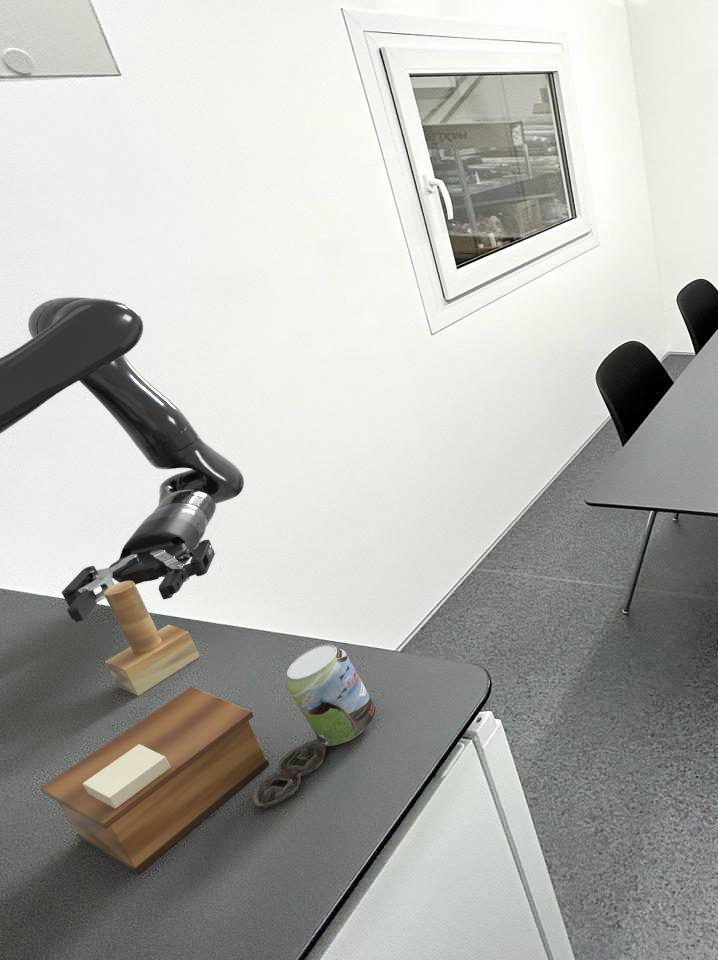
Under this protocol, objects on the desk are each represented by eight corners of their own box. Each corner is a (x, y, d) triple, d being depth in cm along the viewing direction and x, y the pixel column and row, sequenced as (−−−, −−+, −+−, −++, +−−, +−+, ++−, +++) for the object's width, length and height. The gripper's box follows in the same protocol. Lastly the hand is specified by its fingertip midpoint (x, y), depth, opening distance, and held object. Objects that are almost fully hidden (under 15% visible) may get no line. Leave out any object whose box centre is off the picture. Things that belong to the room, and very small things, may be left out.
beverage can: (384, 728, 78) (364, 651, 75) (312, 768, 73) (287, 687, 70) (370, 700, 82) (350, 626, 79) (301, 736, 77) (277, 658, 74)
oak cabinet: (74, 842, 66) (39, 788, 63) (215, 736, 78) (191, 686, 75) (136, 879, 63) (102, 824, 60) (274, 763, 74) (251, 711, 71)
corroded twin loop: (241, 809, 69) (238, 803, 69) (302, 743, 76) (300, 737, 76) (281, 814, 68) (278, 808, 68) (340, 747, 76) (337, 741, 76)
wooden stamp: (118, 687, 85) (72, 601, 80) (180, 648, 91) (142, 567, 86) (138, 696, 83) (93, 610, 78) (199, 656, 89) (162, 574, 84)
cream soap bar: (88, 794, 62) (81, 783, 62) (144, 754, 66) (139, 743, 66) (115, 809, 61) (108, 797, 61) (171, 767, 65) (165, 756, 65)
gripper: (93, 530, 91) (32, 600, 77) (219, 504, 97) (182, 564, 84) (114, 572, 93) (57, 646, 80) (235, 544, 100) (201, 608, 86)
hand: (121, 604), depth 82 cm, fingers open, 8 cm apart
